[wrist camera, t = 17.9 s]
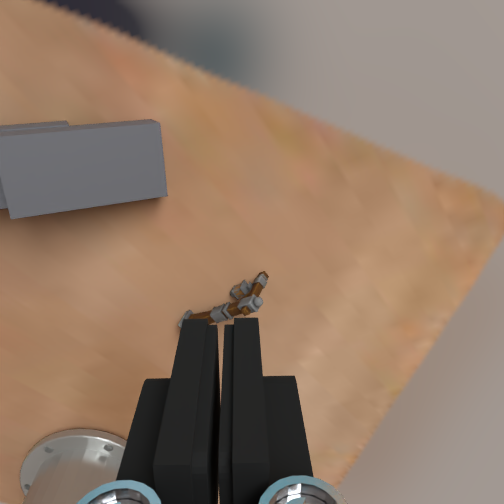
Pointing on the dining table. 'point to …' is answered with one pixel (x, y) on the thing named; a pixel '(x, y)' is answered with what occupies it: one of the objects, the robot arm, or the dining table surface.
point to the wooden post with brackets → (229, 310)
